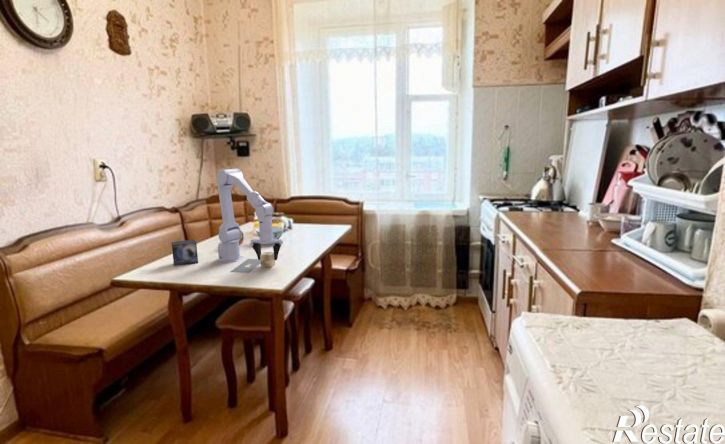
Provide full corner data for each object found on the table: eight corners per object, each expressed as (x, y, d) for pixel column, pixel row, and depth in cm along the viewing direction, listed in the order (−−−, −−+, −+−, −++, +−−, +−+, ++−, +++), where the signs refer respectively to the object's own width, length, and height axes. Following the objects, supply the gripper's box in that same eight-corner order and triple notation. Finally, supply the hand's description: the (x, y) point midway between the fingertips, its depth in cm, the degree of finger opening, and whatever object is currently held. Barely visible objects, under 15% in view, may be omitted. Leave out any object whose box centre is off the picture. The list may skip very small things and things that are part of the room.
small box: (174, 266, 185) (171, 244, 183) (173, 263, 190) (171, 241, 188) (198, 263, 190) (196, 241, 187) (197, 259, 195) (195, 239, 193)
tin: (230, 249, 212) (229, 234, 211) (225, 249, 213) (224, 234, 211) (244, 242, 227) (243, 228, 225) (239, 242, 227) (238, 228, 226)
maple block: (261, 267, 181) (260, 255, 179) (265, 264, 185) (264, 251, 184) (271, 268, 180) (270, 255, 179) (275, 264, 185) (274, 252, 184)
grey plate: (229, 272, 175) (229, 272, 175) (248, 259, 194) (248, 258, 194) (249, 273, 174) (249, 272, 174) (265, 259, 193) (265, 259, 193)
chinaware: (289, 241, 229) (288, 227, 227) (270, 247, 216) (269, 233, 215) (270, 238, 237) (269, 225, 235) (251, 243, 224) (250, 230, 223)
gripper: (246, 232, 176) (249, 261, 179) (278, 232, 175) (280, 262, 177) (253, 228, 183) (255, 257, 186) (283, 229, 181) (285, 257, 184)
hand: (267, 259), depth 182 cm, fingers open, 7 cm apart
